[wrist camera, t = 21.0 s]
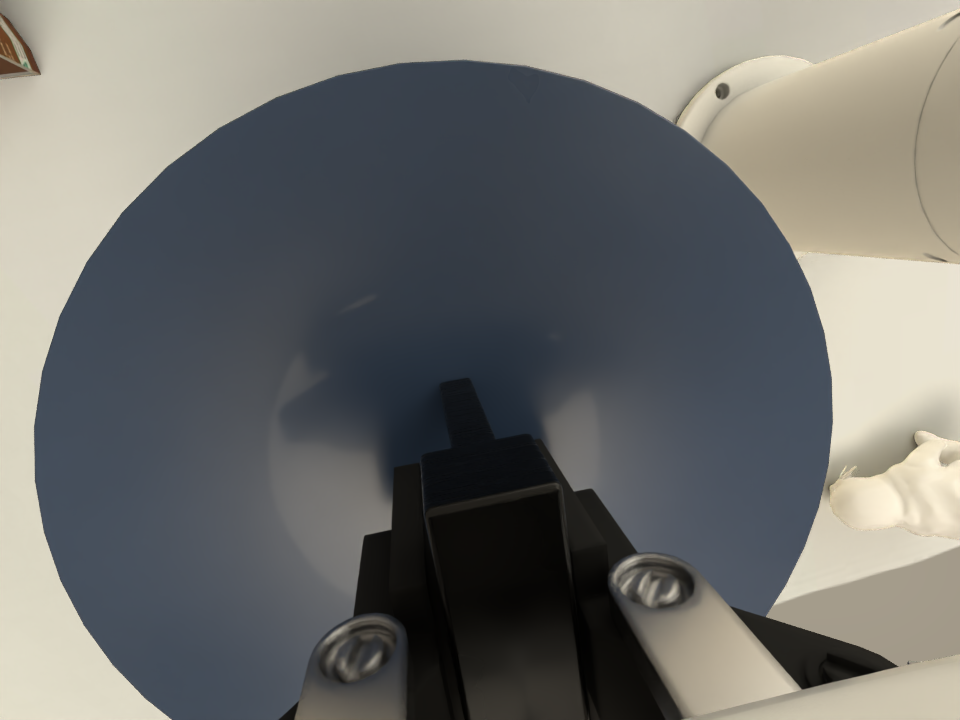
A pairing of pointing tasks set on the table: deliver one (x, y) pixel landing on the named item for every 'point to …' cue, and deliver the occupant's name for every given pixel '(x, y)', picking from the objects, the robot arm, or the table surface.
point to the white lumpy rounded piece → (906, 492)
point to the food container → (14, 53)
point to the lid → (423, 382)
